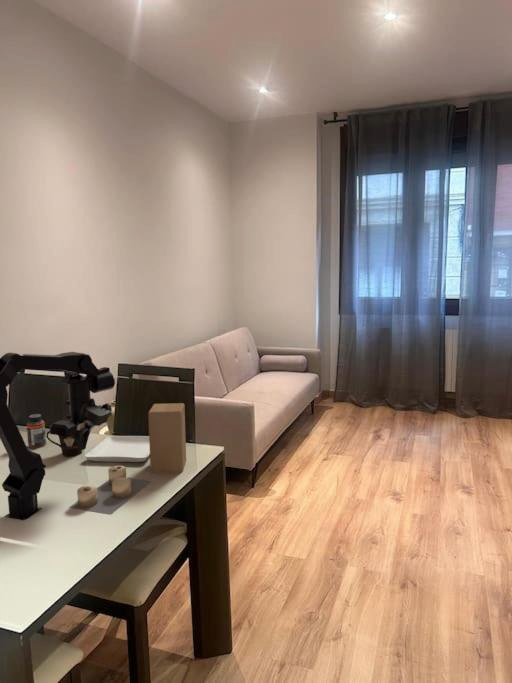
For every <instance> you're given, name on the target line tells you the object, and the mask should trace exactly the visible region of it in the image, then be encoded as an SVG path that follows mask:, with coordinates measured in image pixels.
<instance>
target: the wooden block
mask: <svg viewBox="0 0 512 683" xmlns="http://www.w3.org/2000/svg"><path fill="white" fill-rule="evenodd" d="M185 407H186V406H185V403H183V402H179V403H178V402H177V403H169V402H168V403H153V404H152V407H151V408H150V409H149V411H148V413H147V414H148V417H147V418H148V436H149V443H150V455H149V461H150V462H149V463H150V464H149V465H150V473H151V474H168V473H170V474H171V473H172V474H173V473H183V472H184V470H185V467H186V462H187V442H186V440H187V439H186V416H185V415H186V412H185V411H186V410H185Z"/></svg>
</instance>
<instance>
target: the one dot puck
mask: <svg viewBox="0 0 512 683" xmlns="http://www.w3.org/2000/svg"><path fill="white" fill-rule="evenodd" d="M97 488H98V486H96V485H93V484H92V485H91V484H90V485H89V484H88V485H84V486H81V487H78V489H77V490H76V492H77V501H78V506H79V507H81V508H89V507H92V506H95V505H96V504H97V503H98V497H97Z"/></svg>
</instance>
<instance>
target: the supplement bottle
mask: <svg viewBox="0 0 512 683" xmlns="http://www.w3.org/2000/svg"><path fill="white" fill-rule="evenodd" d="M26 433H27V434H26V435H27V445H28V447H29V448H31V449H38V448H42V447H44V446H45V445H46V444H47V439H46V438H47V437H46V435H47V434H46V423H45V421H44V420H43V419H42V414H40V413H35V414H31V415H29V416H28V421H27V422H26Z"/></svg>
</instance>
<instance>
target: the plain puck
mask: <svg viewBox="0 0 512 683" xmlns="http://www.w3.org/2000/svg"><path fill="white" fill-rule="evenodd" d="M129 478H130V477H126V478H118V479H115V480H113V481H112V491H113V498H115V499H124V498H128V497H129V496H131V480H130V479H129Z"/></svg>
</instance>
